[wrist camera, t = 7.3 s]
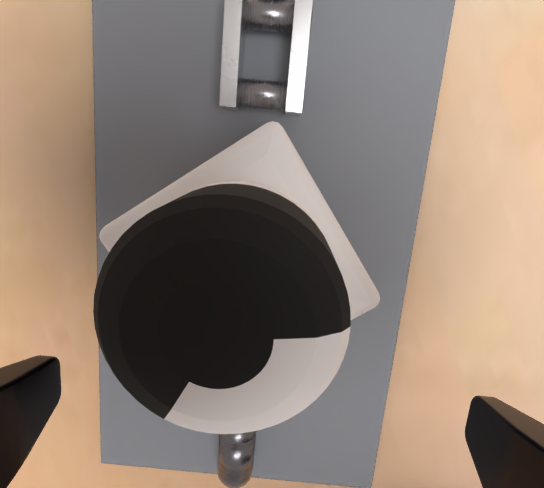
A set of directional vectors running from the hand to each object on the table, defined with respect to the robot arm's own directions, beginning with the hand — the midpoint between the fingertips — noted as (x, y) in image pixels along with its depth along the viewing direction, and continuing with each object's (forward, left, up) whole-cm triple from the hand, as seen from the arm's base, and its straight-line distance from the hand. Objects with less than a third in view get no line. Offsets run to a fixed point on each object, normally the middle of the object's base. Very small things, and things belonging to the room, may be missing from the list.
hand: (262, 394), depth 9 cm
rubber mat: (+1, +1, -13) cm, 13 cm away
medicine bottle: (+1, +1, -12) cm, 13 cm away
